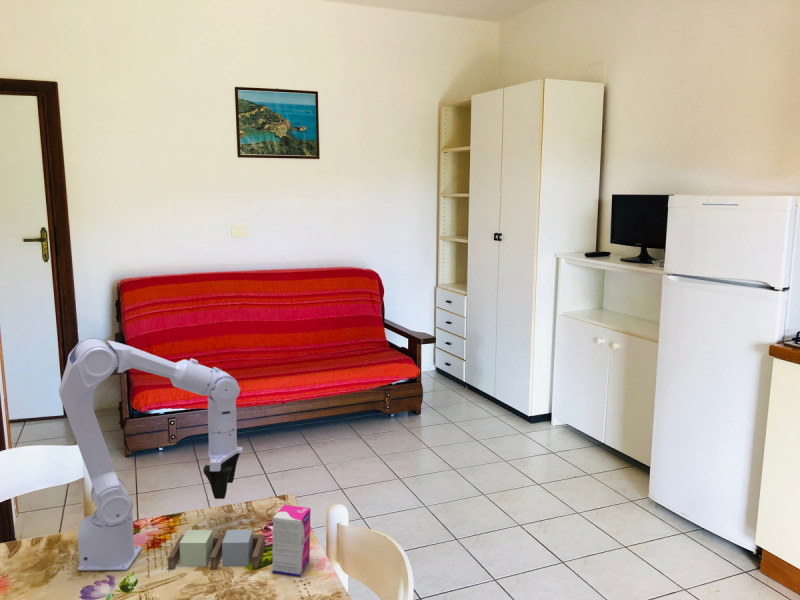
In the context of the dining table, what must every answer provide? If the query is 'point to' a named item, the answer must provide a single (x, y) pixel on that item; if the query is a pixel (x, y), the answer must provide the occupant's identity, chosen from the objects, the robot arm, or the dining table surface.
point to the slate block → (237, 547)
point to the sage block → (196, 548)
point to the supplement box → (291, 540)
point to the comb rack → (220, 551)
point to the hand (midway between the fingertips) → (224, 489)
